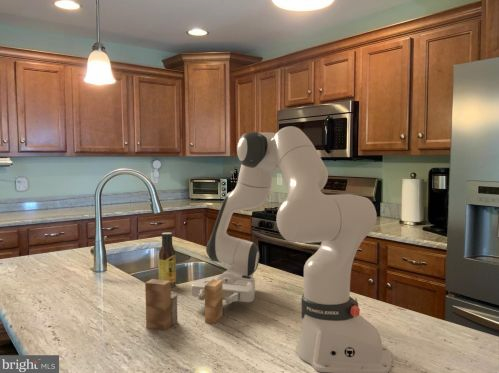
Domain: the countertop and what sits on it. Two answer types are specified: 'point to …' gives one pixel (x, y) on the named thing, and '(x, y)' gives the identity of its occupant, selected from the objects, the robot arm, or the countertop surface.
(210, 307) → the light brown wooden block
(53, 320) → the countertop surface
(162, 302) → the hinge post
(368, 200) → the robot arm
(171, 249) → the sauce bottle
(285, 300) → the countertop surface
